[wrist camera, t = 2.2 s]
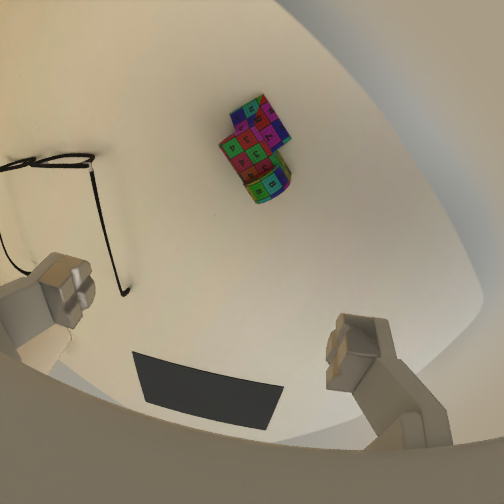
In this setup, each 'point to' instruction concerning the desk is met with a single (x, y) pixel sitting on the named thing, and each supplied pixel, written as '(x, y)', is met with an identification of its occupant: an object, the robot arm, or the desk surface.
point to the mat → (206, 393)
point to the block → (258, 150)
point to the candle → (45, 348)
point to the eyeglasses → (85, 164)
